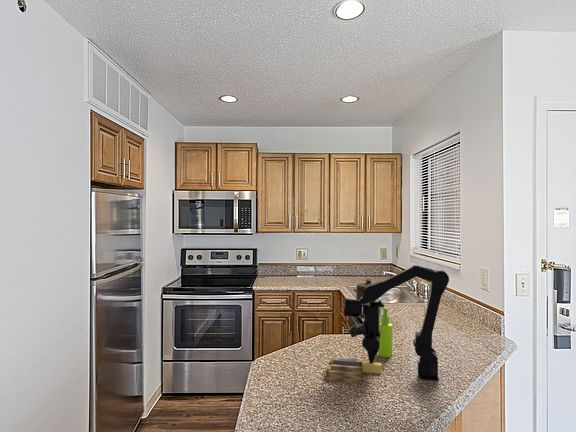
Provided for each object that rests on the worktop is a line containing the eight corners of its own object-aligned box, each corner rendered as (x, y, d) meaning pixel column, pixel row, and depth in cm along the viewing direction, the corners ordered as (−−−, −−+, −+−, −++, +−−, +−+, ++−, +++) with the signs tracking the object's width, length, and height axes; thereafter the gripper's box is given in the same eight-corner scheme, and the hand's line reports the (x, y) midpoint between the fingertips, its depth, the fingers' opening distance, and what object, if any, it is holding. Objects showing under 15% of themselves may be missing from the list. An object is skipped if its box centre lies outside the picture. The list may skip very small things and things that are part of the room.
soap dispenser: (379, 351, 181) (379, 305, 182) (394, 354, 177) (394, 307, 177) (373, 354, 177) (373, 307, 177) (388, 358, 172) (388, 309, 173)
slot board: (362, 369, 159) (362, 360, 159) (360, 382, 146) (360, 373, 146) (331, 366, 162) (331, 357, 162) (326, 379, 148) (326, 370, 149)
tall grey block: (356, 367, 158) (356, 359, 158) (356, 370, 155) (356, 361, 155) (338, 366, 159) (338, 358, 159) (337, 369, 156) (337, 360, 156)
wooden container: (383, 317, 248) (383, 280, 248) (358, 317, 248) (358, 280, 248) (378, 311, 263) (378, 277, 263) (354, 311, 263) (354, 276, 263)
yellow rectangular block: (381, 371, 158) (381, 362, 158) (381, 374, 155) (381, 365, 155) (362, 369, 159) (362, 361, 159) (362, 372, 156) (362, 364, 156)
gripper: (352, 311, 168) (352, 350, 168) (348, 322, 150) (348, 365, 150) (380, 313, 166) (380, 352, 165) (379, 324, 148) (379, 368, 147)
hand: (371, 359), depth 157 cm, fingers open, 9 cm apart
